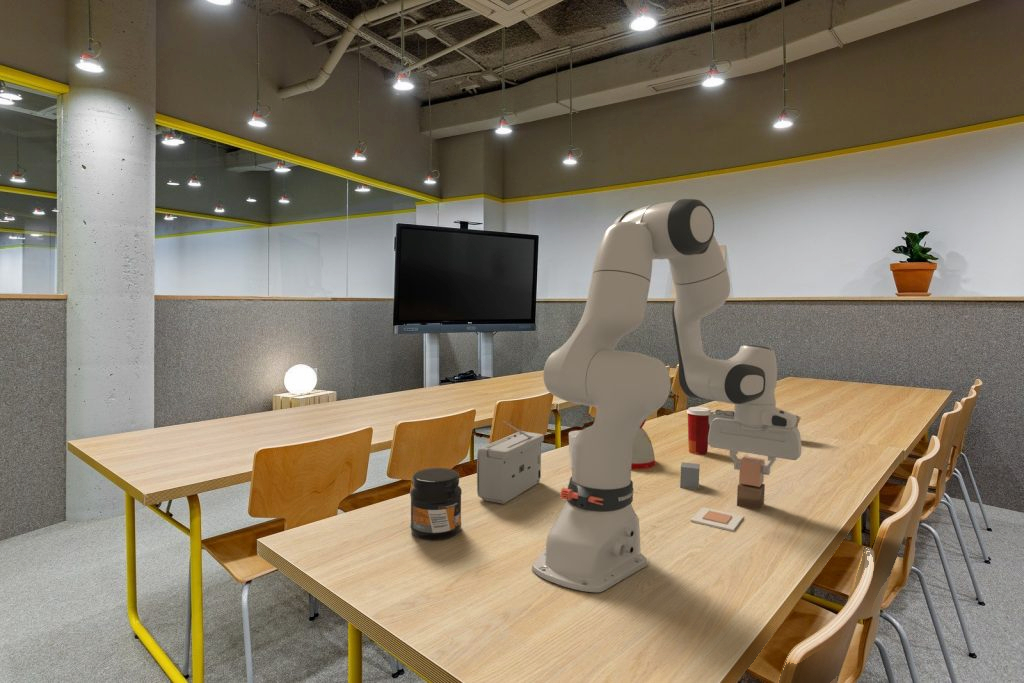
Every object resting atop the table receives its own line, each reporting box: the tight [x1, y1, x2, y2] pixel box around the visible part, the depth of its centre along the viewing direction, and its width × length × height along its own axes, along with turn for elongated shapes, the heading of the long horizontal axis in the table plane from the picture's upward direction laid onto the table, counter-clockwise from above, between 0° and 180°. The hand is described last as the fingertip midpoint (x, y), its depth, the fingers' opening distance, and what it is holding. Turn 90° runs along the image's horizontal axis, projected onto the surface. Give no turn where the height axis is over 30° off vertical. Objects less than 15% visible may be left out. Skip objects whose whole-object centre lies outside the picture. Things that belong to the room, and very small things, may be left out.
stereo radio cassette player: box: [476, 420, 545, 505], centre depth 140 cm, size 21×8×20 cm, turn 150°
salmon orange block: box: [738, 455, 765, 487], centre depth 132 cm, size 4×4×6 cm
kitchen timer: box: [631, 418, 656, 470], centre depth 166 cm, size 14×14×15 cm
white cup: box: [568, 429, 583, 470], centre depth 160 cm, size 8×8×10 cm
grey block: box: [679, 461, 701, 491], centre depth 146 cm, size 4×4×6 cm
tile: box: [689, 506, 744, 532], centre depth 123 cm, size 9×9×1 cm
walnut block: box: [736, 482, 766, 512], centre depth 132 cm, size 5×5×5 cm
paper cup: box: [686, 406, 712, 456], centre depth 178 cm, size 8×8×14 cm
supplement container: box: [409, 467, 463, 541], centre depth 116 cm, size 10×10×12 cm
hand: (751, 471), depth 132 cm, fingers open, 5 cm apart
